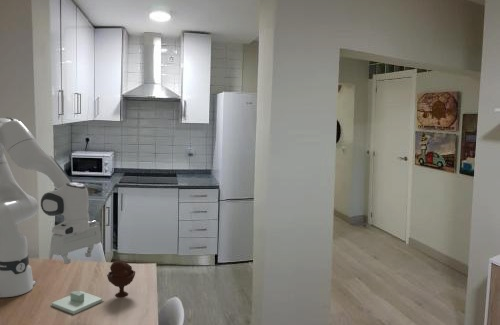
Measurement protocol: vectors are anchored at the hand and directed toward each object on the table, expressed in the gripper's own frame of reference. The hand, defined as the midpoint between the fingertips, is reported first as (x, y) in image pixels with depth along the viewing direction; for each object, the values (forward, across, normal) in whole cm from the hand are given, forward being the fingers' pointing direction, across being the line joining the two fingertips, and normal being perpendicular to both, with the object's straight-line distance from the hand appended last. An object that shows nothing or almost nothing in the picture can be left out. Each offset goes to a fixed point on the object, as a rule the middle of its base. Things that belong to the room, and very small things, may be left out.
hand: (78, 260), depth 161 cm
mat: (+18, +1, 0) cm, 18 cm away
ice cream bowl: (+18, -14, +8) cm, 24 cm away
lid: (+17, +1, 0) cm, 17 cm away
